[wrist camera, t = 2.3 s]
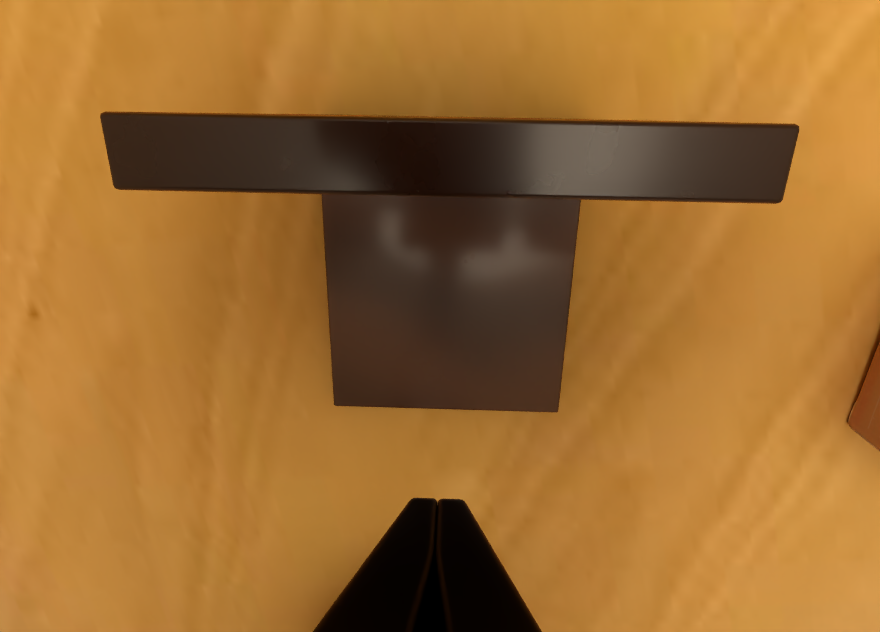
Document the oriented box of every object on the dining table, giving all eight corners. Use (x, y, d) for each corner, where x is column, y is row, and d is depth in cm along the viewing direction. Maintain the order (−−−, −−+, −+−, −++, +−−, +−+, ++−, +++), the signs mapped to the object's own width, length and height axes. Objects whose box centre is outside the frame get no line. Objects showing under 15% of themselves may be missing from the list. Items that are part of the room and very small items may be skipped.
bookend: (320, 114, 18) (97, 111, 7) (586, 119, 18) (803, 124, 7) (336, 400, 22) (210, 696, 11) (556, 406, 22) (661, 715, 11)
